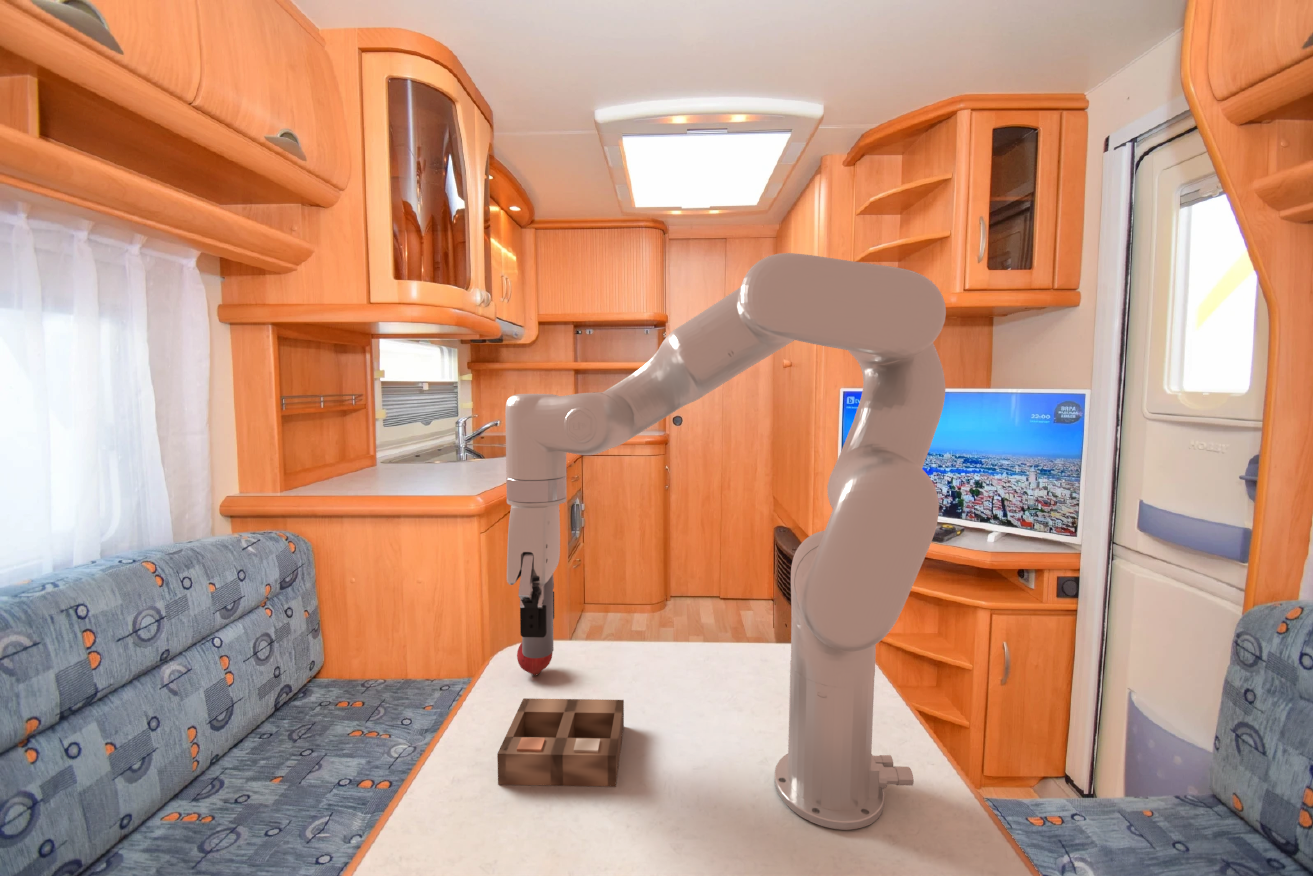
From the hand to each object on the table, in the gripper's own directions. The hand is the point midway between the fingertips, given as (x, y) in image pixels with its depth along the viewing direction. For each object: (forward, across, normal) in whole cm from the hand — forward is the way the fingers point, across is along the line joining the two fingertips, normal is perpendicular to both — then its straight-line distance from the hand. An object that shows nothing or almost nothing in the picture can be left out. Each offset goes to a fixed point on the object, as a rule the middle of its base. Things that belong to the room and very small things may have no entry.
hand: (538, 626), depth 71 cm
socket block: (+17, 0, +4) cm, 18 cm away
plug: (+3, 0, 0) cm, 3 cm away
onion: (+18, -20, -5) cm, 27 cm away
